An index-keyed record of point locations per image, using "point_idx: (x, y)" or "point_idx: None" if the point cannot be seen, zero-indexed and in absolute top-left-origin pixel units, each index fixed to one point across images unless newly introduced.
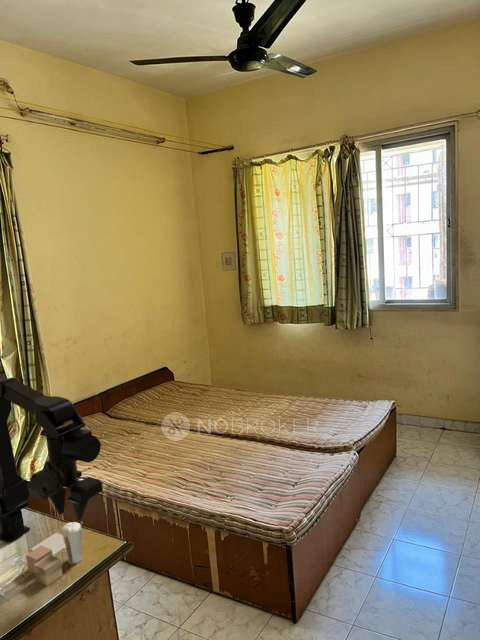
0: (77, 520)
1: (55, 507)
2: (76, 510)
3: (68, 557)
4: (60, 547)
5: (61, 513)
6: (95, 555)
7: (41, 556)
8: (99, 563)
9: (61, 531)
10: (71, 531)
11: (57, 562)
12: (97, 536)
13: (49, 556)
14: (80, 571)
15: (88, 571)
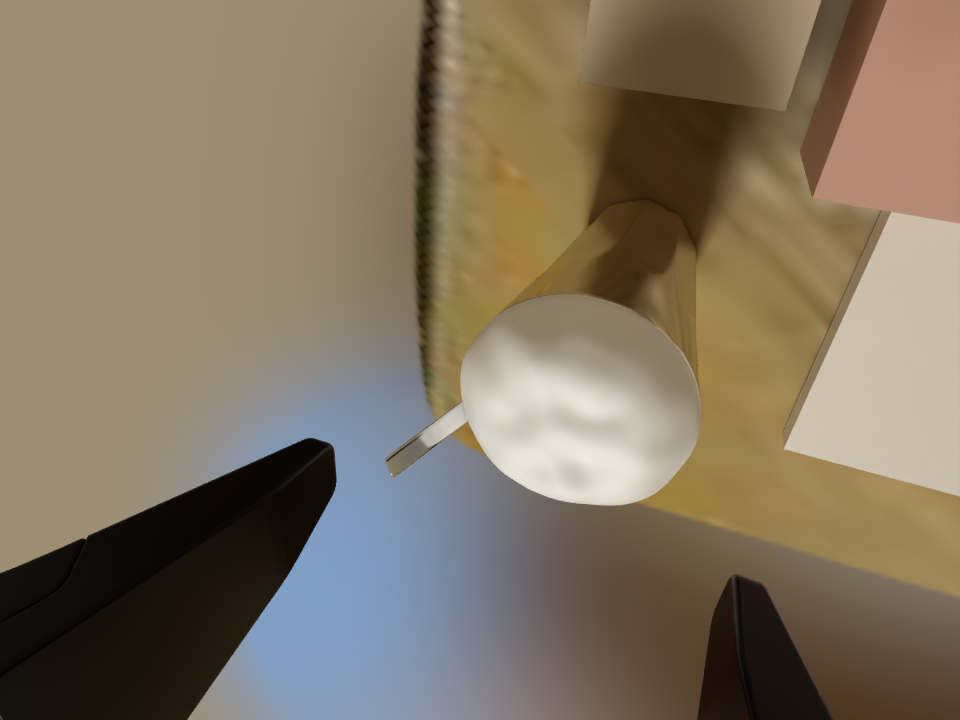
0: (317, 441)
1: (817, 715)
2: (111, 539)
3: (634, 213)
4: (867, 350)
5: (724, 599)
6: None
7: (873, 44)
8: (431, 260)
9: (642, 337)
10: (491, 348)
11: (588, 36)
12: (651, 502)
13: (752, 81)
14: (496, 147)
15: (439, 165)
